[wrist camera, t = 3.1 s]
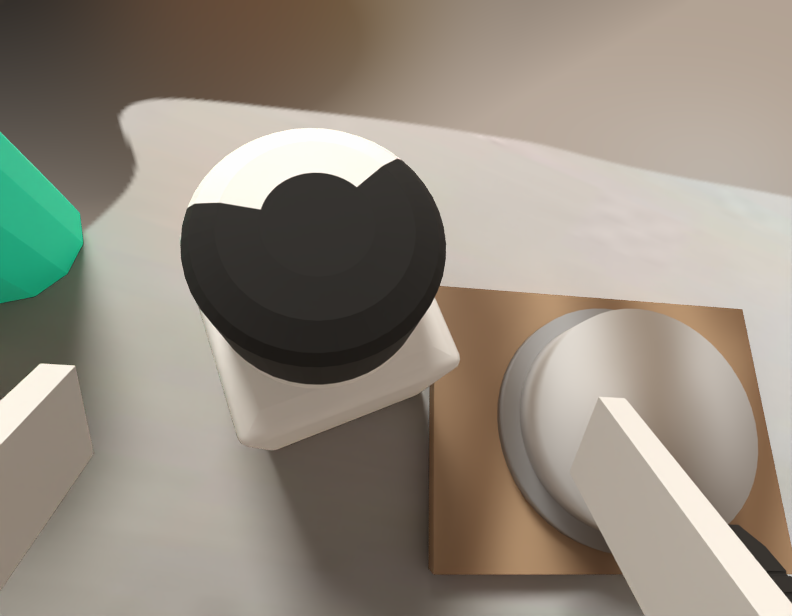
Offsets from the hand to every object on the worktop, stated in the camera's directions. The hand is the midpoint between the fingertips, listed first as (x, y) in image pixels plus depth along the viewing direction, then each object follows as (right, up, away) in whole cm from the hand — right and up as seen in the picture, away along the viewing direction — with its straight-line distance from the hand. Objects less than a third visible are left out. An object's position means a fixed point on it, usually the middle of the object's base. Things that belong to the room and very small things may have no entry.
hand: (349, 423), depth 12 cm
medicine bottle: (-2, +1, +9) cm, 10 cm away
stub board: (+11, -2, +10) cm, 15 cm away
